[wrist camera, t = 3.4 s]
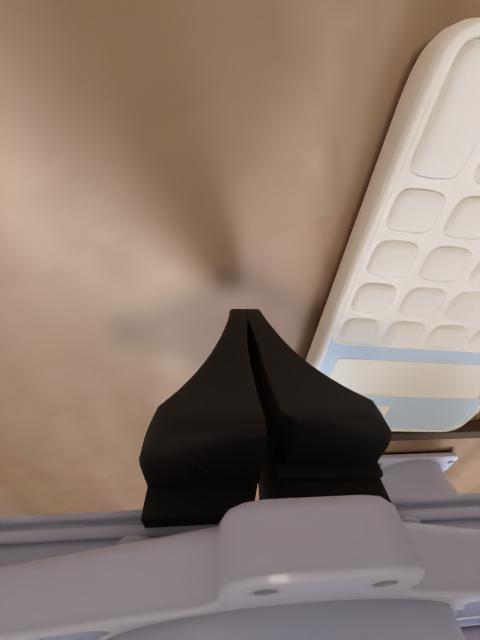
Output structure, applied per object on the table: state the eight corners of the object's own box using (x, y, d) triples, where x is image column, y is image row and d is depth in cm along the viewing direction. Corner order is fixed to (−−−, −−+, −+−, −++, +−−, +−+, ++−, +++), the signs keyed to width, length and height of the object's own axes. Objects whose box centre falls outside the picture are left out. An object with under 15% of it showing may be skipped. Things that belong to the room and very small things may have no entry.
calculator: (742, 92, 10) (842, 82, 8) (443, 415, 21) (461, 437, 19) (419, 22, 8) (466, -6, 7) (284, 411, 19) (289, 435, 18)
